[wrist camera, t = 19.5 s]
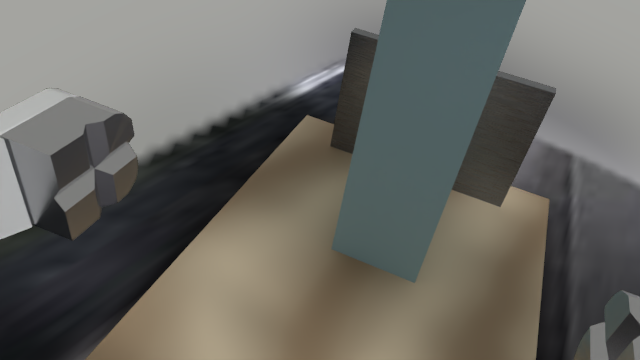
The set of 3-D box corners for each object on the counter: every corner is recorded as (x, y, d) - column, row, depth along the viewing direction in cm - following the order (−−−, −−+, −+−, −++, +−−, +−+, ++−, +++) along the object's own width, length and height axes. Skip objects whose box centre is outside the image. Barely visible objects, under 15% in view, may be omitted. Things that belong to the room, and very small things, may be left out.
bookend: (505, 184, 29) (557, 74, 25) (500, 207, 28) (555, 93, 23) (343, 128, 32) (365, 18, 27) (329, 146, 30) (351, 31, 26)
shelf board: (538, 218, 30) (549, 199, 29) (494, 631, 15) (513, 619, 14) (304, 134, 33) (306, 115, 32) (73, 402, 18) (66, 380, 17)
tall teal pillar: (447, 193, 28) (557, -89, 19) (415, 283, 23) (547, -51, 14) (377, 168, 29) (451, -113, 20) (330, 248, 24) (404, -85, 15)
